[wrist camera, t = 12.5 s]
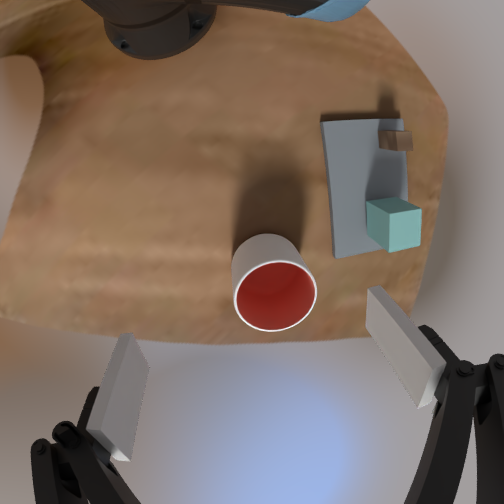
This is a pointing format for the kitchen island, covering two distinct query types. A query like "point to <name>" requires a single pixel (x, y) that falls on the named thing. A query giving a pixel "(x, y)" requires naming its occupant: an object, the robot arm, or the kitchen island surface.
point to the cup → (271, 283)
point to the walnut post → (395, 140)
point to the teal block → (394, 223)
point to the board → (359, 178)
